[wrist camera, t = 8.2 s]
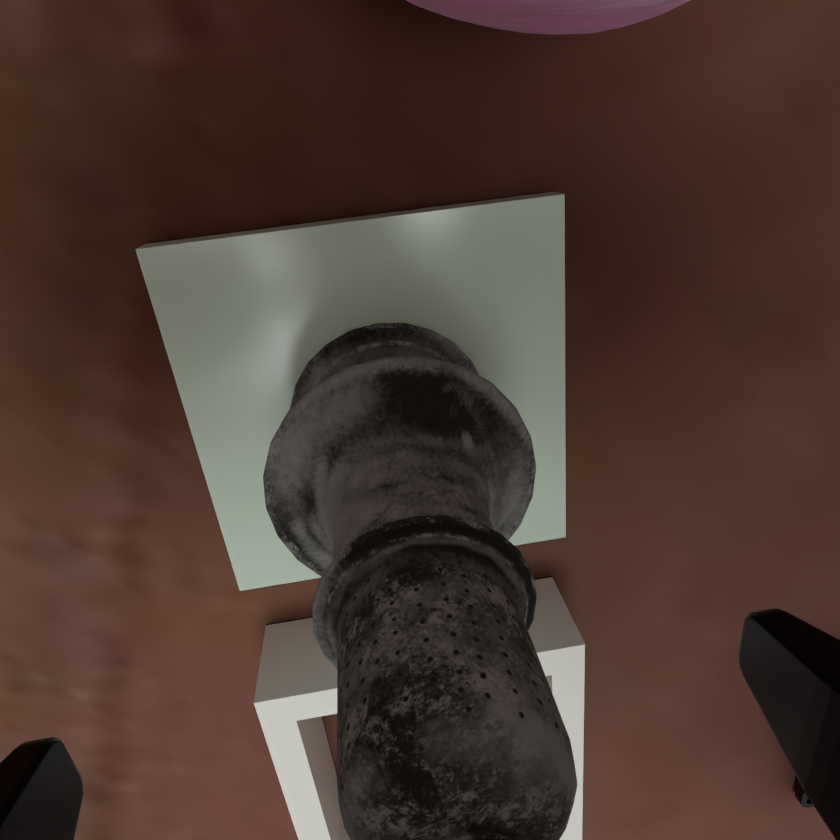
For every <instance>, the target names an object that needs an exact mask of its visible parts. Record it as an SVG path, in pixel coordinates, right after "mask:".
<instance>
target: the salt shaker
mask: <svg viewBox="0 0 840 840" xmlns="http://www.w3.org/2000/svg"><path fill="white" fill-rule="evenodd" d="M535 473H536V462H535V456H534V451H533V445H532V439H531V436H530V434H529V432H528V430H527V428H526V426H525V424H524V422H523V420H522V418H521V416H520V414H519V412H518V410H517V408H516V407H515V406H514V405H513V404H512V403H511V402H510V401H509V400H508V399H507V398H506V397H505V396H504V395H503V393H502V392H501V391H500V390H499V389H498V388H497V387H496V386H495V385H494V384H493V383H491V382H490V381H488V380H486V379H484V378H483V377H481V376H479V374H478V372H477V370H476V369H475V367H474V365H473V363H472V361H471V360H470V359H469V358H468V357H467V356H466V355H465V354H464V353H463V352H462V351H461V350H460V349H459V348H458V346H457V345H456V344H455V343H454V342H452V341H450V340H448V339H447V338H445V337H443V336H441V335H440V334H438V333H436V332H434V331H433V330H431V329H427V328H423V327H419V326H415V325H411V324H407V323H376V324H372V325H368V326H364V327H361V328H357V329H353V330H350V331H348V332H346V333H345V334H343V335H341V336H339V337H338V338H336V339H334V340H332V341H331V342H329V343H327V344H326V345H325V346H324V347H323V348H322V349H321V350H320V351H319V352H318V353H317V354H316V355H315V356H314V357H313V358H312V359H311V360H310V361H309V362H308V363H307V365H306V367H305V369H304V370H303V372H302V374H301V376H300V378H299V379H298V381H297V383H296V385H295V389H294V393H293V398H292V402H291V406H290V410H289V411H288V412H287V414H286V416H285V418H284V419H283V421H282V423H281V425H280V426H279V428H278V430H277V432H276V433H275V435H274V437H273V439H272V440H271V442H270V447H269V451H268V456H267V460H266V465H265V469H264V474H263V482H264V493H265V504H266V509H267V512H268V514H269V517H270V519H271V521H272V524H273V526H274V528H275V531H276V533H277V535H278V537H279V538H280V540H281V541H282V542H283V543H284V544H285V546H286V547H287V548H288V549H289V550H290V552H291V553H292V554H293V555H294V556H295V558H296V559H297V560H298V561H300V562H301V563H302V564H304V565H305V566H307V567H308V568H309V569H311V570H312V571H314V572H315V573H317V574H318V575H319V576H321V579H320V580H319V583H318V586H317V590H316V594H315V597H314V601H313V605H312V613H313V628H314V634H315V636H316V639H317V641H318V643H319V646H320V648H321V650H322V653H323V654H324V656H325V657H326V658H327V659H328V660H329V661H330V662H331V663H332V665H333V666H334V667H335V668H336V669H337V787H338V803H339V807H340V812H341V816H342V821H343V825H344V828H345V830H346V832H347V834H348V836H349V838H350V840H560V838H561V836H562V835H563V833H564V831H565V829H566V827H567V824H568V821H569V817H570V814H571V811H572V808H573V804H574V799H575V794H576V789H577V778H576V771H575V764H574V758H573V753H572V747H571V742H570V738H569V736H568V733H567V731H566V728H565V725H564V723H563V720H562V718H561V715H560V712H559V710H558V707H557V705H556V702H555V699H554V697H553V694H552V692H551V689H550V686H549V684H548V681H547V679H546V676H545V673H544V671H543V668H542V666H541V663H540V660H539V658H538V655H537V653H536V650H535V648H534V645H533V642H532V640H531V637H530V635H529V632H528V631H529V628H530V626H531V624H532V622H533V620H534V614H535V606H536V599H537V595H536V590H535V585H534V579H533V574H532V572H531V570H530V568H529V566H528V565H527V563H526V561H525V559H524V558H523V556H522V554H521V553H520V551H519V549H517V548H516V547H515V546H514V545H513V544H512V543H511V542H510V541H508V540H509V539H510V538H511V537H512V535H513V534H514V533H515V531H516V530H517V529H518V527H519V526H520V525H521V523H522V520H523V518H524V515H525V513H526V511H527V508H528V506H529V504H530V501H531V499H532V496H533V489H534V481H535Z"/></svg>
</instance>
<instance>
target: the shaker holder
mask: <svg viewBox="0 0 840 840" xmlns="http://www.w3.org/2000/svg"><path fill="white" fill-rule="evenodd" d="M534 585H535V590H536V595H537V599H536V606H535V614H534V620H533V622H532V624H531V626H530V628H529V631H528V632H529V635H530V637H531V640H532V642H533V645H534V648H535V650H536V653H537V655H538V658H539V660H540V663H541V666H542V668H543V671H544V673H545V676H546V679H547V681H548V684H549V686H550V689H551V692H552V694H553V697H554V699H555V702H556V705H557V707H558V710H559V712H560V715H561V718H562V720H563V723H564V725H565V728H566V731H567V733H568V736H569V738H570V742H571V747H572V753H573V758H574V764H575V771H576V778H577V789H576V794H575V799H574V804H573V808H572V811H571V814H570V817H569V821H568V824H567V827H566V829H565V831H564V833H563V835H562V836H561V838H560V840H582V809H583V742H584V675H585V643H584V641H583V639H582V637H581V635H580V633H579V631H578V629H577V627H576V625H575V623H574V621H573V619H572V617H571V615H570V613H569V611H568V608H567V606H566V604H565V602H564V600H563V598H562V596H561V594H560V592H559V590H558V588H557V586H556V584H555V582H554V580H553V578H552V577H549V578H543V579H537V580H534ZM254 705H255V708H256V711H257V714H258V717H259V720H260V723H261V726H262V730H263V733H264V736H265V739H266V742H267V745H268V748H269V751H270V754H271V757H272V760H273V763H274V766H275V769H276V772H277V775H278V778H279V781H280V785H281V788H282V791H283V794H284V797H285V800H286V803H287V806H288V809H289V812H290V815H291V818H292V821H293V824H294V827H295V830H296V833H297V836H298V839H299V840H350V838H349V836H348V834H347V832H346V830H345V828H344V825H343V821H342V816H341V812H340V807H339V803H338V787H337V774H336V770H335V767H334V763H333V759H332V755H331V751H330V747H329V744H328V740H327V736H326V732H325V728H324V724H323V721H322V717H321V716H326V715H332V714H337V669H336V668H335V667H334V666H333V665H332V663H331V662H330V661H329V660H328V659H327V658H326V657H325V656H324V654H323V653H322V650H321V648H320V646H319V643H318V641H317V639H316V636H315V634H314V628H313V618H307V619H301V620H295V621H289V622H283V623H278V624H272V625H266V627H265V633H264V640H263V646H262V653H261V659H260V666H259V673H258V679H257V686H256V692H255V699H254Z"/></svg>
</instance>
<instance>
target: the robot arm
mask: <svg viewBox="0 0 840 840" xmlns="http://www.w3.org/2000/svg"><path fill="white" fill-rule="evenodd" d="M739 665H740V669H741V671H742V674H743V676H744V678H745V680H746V682H747V684H748V686H749V688H750V690H751V691H752V693H753V695H754V697H755V699H756V701H757V703H758V705H759V707H760V708H761V710H762V712H763V714H764V716H765V718H766V720H767V722H768V724H769V726H770V727H771V729H772V731H773V733H774V735H775V737H776V739H777V741H778V743H779V744H780V746H781V748H782V750H783V752H784V754H785V756H786V758H787V760H788V762H789V763H790V765H791V767H792V769H793V771H794V773H795V775H796V776H797V778H798V784H797V788H796V792H795V796H796V798H797V799H798V801H799V802H800V804H801V805H802V806H803V807H813V806H814V807H815V808H816V810H817V811H818V813H819V814H820V816H821V818H822V819H823V821H824V822H825V824H826V825H827V827H828V828H829V830H830V831H831V833H832V834H833V836H834V838H835V839H836V840H840V640H839V639H837V638H835V637H833V636H831V635H829V634H827V633H825V632H823V631H822V630H820V629H818V628H816V627H814V626H812V625H810V624H808V623H806V622H805V621H803V620H801V619H799V618H797V617H795V616H793V615H791V614H789V613H787V612H785V611H783V610H780V609H769V610H763V611H757V612H752V613H750V614H748V616H747V617H746V618H745V621H744V627H743V633H742V639H741V645H740V650H739ZM82 798H83V782H82V778H81V775H80V773H79V771H78V769H77V768H76V766H75V764H74V762H73V760H72V759H71V757H70V755H69V753H68V751H67V749H66V748H65V746H64V744H63V743H62V741H61V740H59V739H57V738H54V737H51V738H45V739H40V740H34V741H29V742H25V743H23V744H21V745H19V746H18V747H16V748H15V749H14V750H13V751H12V752H11V753H10V754H9V755H8V756H7V757H6V758H5V759H4V760H3V761H2V762H1V763H0V840H74V837H75V832H76V827H77V822H78V818H79V813H80V808H81V803H82Z"/></svg>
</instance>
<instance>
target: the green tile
mask: <svg viewBox="0 0 840 840" xmlns="http://www.w3.org/2000/svg"><path fill="white" fill-rule="evenodd" d="M135 250H136V253H137V257H138V260H139V263H140V267H141V270H142V273H143V276H144V280H145V283H146V286H147V289H148V293H149V296H150V299H151V302H152V306H153V309H154V312H155V316H156V319H157V322H158V325H159V329H160V332H161V335H162V338H163V342H164V345H165V348H166V351H167V355H168V358H169V361H170V364H171V368H172V371H173V374H174V378H175V381H176V384H177V387H178V391H179V394H180V397H181V400H182V404H183V407H184V410H185V413H186V417H187V420H188V423H189V427H190V430H191V433H192V436H193V440H194V443H195V446H196V449H197V453H198V456H199V459H200V462H201V466H202V469H203V472H204V475H205V479H206V482H207V485H208V489H209V492H210V495H211V498H212V502H213V505H214V508H215V511H216V515H217V518H218V521H219V524H220V528H221V531H222V534H223V538H224V541H225V544H226V547H227V551H228V554H229V557H230V560H231V564H232V567H233V570H234V573H235V577H236V580H237V583H238V586H239V590H240V591H243V590H249V589H255V588H261V587H267V586H273V585H279V584H285V583H291V582H297V581H303V580H309V579H315V578H321V576H319V575H318V574H317V573H315V572H314V571H312V570H311V569H309V568H308V567H307V566H305V565H304V564H302V563H301V562H300V561H298V560H297V559H296V558H295V556H294V555H293V554H292V553H291V552H290V550H289V549H288V548H287V547H286V546H285V544H284V543H283V542H282V541H281V540H280V538H279V537H278V535H277V533H276V531H275V528H274V526H273V524H272V521H271V519H270V517H269V514H268V512H267V509H266V504H265V493H264V482H263V474H264V469H265V465H266V460H267V456H268V451H269V447H270V442H271V440H272V439H273V437H274V435H275V433H276V432H277V430H278V428H279V426H280V425H281V423H282V421H283V419H284V418H285V416H286V414H287V412H288V411H289V410H290V406H291V402H292V398H293V393H294V389H295V385H296V383H297V381H298V379H299V378H300V376H301V374H302V372H303V370H304V369H305V367H306V365H307V363H308V362H309V361H310V360H311V359H312V358H313V357H314V356H315V355H316V354H317V353H318V352H319V351H320V350H321V349H322V348H323V347H324V346H325V345H326V344H327V343H329V342H331V341H332V340H334V339H336V338H338V337H339V336H341V335H343V334H345V333H346V332H348V331H350V330H353V329H357V328H361V327H364V326H368V325H372V324H376V323H407V324H411V325H415V326H419V327H423V328H427V329H431V330H433V331H434V332H436V333H438V334H440V335H441V336H443V337H445V338H447V339H448V340H450V341H452V342H454V343H455V344H456V345H457V346H458V348H459V349H460V350H461V351H462V352H463V353H464V354H465V355H466V356H467V357H468V358H469V359H470V360H471V361H472V363H473V365H474V367H475V369H476V370H477V372H478V374H479V376H481V377H483V378H484V379H486V380H488V381H490V382H491V383H493V384H494V385H495V386H496V387H497V388H498V389H499V390H500V391H501V392H502V393H503V395H504V396H505V397H506V398H507V399H508V400H509V401H510V402H511V403H512V404H513V405H514V406H515V407H516V408H517V410H518V412H519V414H520V416H521V418H522V420H523V422H524V424H525V426H526V428H527V430H528V432H529V434H530V436H531V439H532V445H533V451H534V456H535V462H536V473H535V481H534V489H533V496H532V499H531V501H530V504H529V506H528V508H527V511H526V513H525V515H524V518H523V520H522V523H521V525H520V526H519V527H518V529H517V530H516V531H515V533H514V534H513V535H512V537H511V538H510V539H509V540H508V541H510V542H511V543H512V544H513V545H514V546H515V545H521V544H527V543H533V542H539V541H545V540H551V539H557V538H563V537H566V435H565V194H562V193H558V192H546V193H538V194H531V195H523V196H515V197H507V198H499V199H492V200H484V201H476V202H468V203H460V204H453V205H445V206H437V207H429V208H421V209H414V210H406V211H398V212H390V213H382V214H375V215H367V216H359V217H351V218H343V219H336V220H328V221H320V222H312V223H304V224H297V225H289V226H281V227H273V228H265V229H258V230H250V231H242V232H234V233H226V234H219V235H211V236H203V237H195V238H187V239H180V240H172V241H164V242H156V243H148V244H144V245H142V246H141V247H139V248H137V249H135Z"/></svg>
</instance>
